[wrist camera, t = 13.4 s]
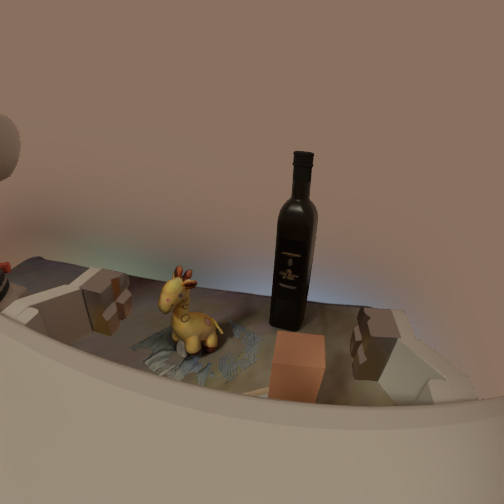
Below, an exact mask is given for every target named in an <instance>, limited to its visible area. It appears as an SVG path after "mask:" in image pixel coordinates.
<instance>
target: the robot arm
mask: <svg viewBox="0 0 504 504" xmlns="http://www.w3.org/2000/svg"><path fill="white" fill-rule="evenodd" d="M20 147H21V143H20V136H19V132H18V130H17V127H16V126H15V124H14V123H13V121H12V120H11V119H10V118H8V117H7V116H4V115H2V114H0V181H2V180H4V179H6V178H8V177H10V175H11V174H12V173H13V171H14V169H15V167H16V165H17V162H18V159H19V155H20ZM10 268H11V267H10V265H9V262H5V263H0V504H504V396H500V397H494V398H488V399H481V400H478V397H477V395H476V393H475V390H474V388H473V386H472V383H471V381H470V379H469V377H468V376H467V375H466V374H465V373H463V372H462V371H461V370H459V369H458V368H457V367H456V366H454V365H453V364H452V363H450V362H449V361H448V360H446V359H445V358H444V357H443V356H441V355H440V354H439V353H438V352H436V351H435V350H434V349H432V348H431V347H430V346H428V345H427V344H426V343H424V342H423V341H422V340H420V339H416V337H415V334H414V332H413V330H412V327H411V325H410V323H409V321H408V318H407V316H406V313H405V311H403V310H395V309H377V308H362V307H361V309H360V311H359V313H358V316H357V320H358V325H357V326H356V327H355V328H354V329H353V333H352V336H351V343H350V352H351V356H352V357H353V358H354V361H353V364H352V368H353V376H354V379H357V380H370V381H378V383H379V384H380V385H381V387H382V388H383V389H384V390H385V392H386V393H387V394H388V395H389V397H390V398H391V399H392V400H393V402H394V403H395V404H396V405H397V406H348V405H330V404H317V403H306V402H296V401H287V400H279V399H272V398H264V397H258V396H251V395H245V394H240V393H234V392H228V391H223V390H218V389H213V388H208V387H204V386H199V385H195V384H190V383H186V382H182V381H178V380H174V379H170V378H166V377H162V376H158V375H155V374H151V373H148V372H144V371H141V370H137V369H134V368H131V367H128V366H125V365H121V364H118V363H115V362H112V361H109V360H106V359H104V358H101V357H98V356H95V355H92V354H90V353H87V352H84V351H82V350H79V349H77V348H74V347H71V346H69V345H70V344H72V343H74V342H76V341H78V340H79V339H81V338H83V337H85V336H87V335H89V334H91V333H92V332H93V331H94V332H97V333H101V334H105V335H108V336H112V335H113V334H114V332H115V331H116V330H117V329H118V328H119V326H120V321H121V320H124V319H126V318H127V317H128V315H129V314H130V311H131V309H132V295H131V293H130V292H129V291H128V289H127V288H128V286H129V285H130V283H129V278H128V276H127V274H126V273H122V272H117V271H112V270H108V269H103V268H98V267H91V268H90V269H88V270H87V271H86V272H84V273H83V274H82V275H81V276H79V277H78V278H77V279H76V280H74V281H73V282H72V283H71V284H69V285H63V286H60V287H56V288H53V289H50V290H46V291H43V292H40V293H37V294H34V295H29V292H28V290H27V289H26V288H25V287H23V286H21V285H17V284H14V283H11V282H9V281H8V279H7V277H6V276H5V274H4V273H10V271H11V269H10Z"/></svg>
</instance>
